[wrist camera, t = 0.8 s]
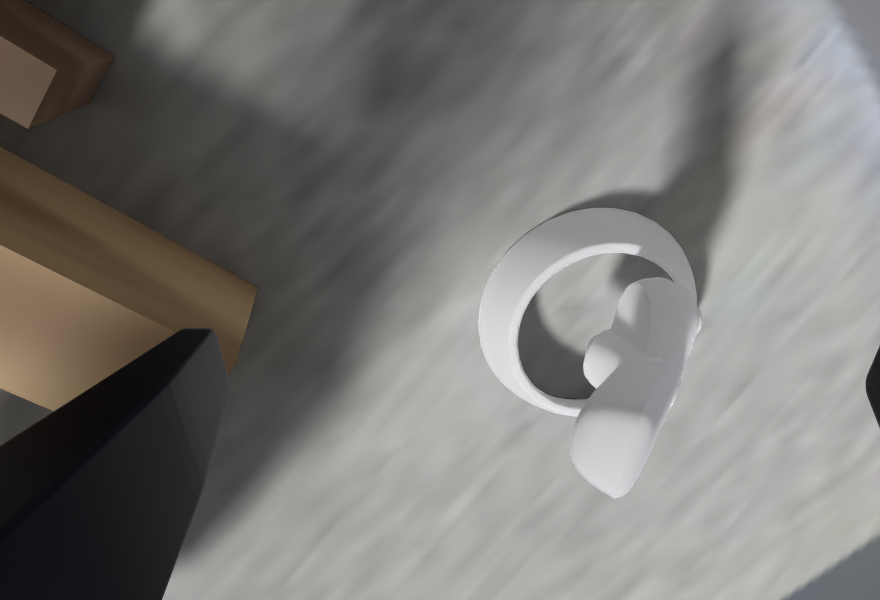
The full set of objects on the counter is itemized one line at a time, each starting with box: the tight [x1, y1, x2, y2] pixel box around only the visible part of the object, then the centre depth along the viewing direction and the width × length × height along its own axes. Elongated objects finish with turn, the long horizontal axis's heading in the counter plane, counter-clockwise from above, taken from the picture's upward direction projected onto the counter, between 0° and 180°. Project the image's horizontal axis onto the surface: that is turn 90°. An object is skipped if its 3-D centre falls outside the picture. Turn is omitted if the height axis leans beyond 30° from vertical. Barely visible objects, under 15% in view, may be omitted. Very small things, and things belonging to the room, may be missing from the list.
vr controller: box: [478, 208, 702, 499], centre depth 20 cm, size 8×12×7 cm
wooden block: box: [0, 147, 258, 411], centre depth 18 cm, size 4×10×5 cm, turn 55°
